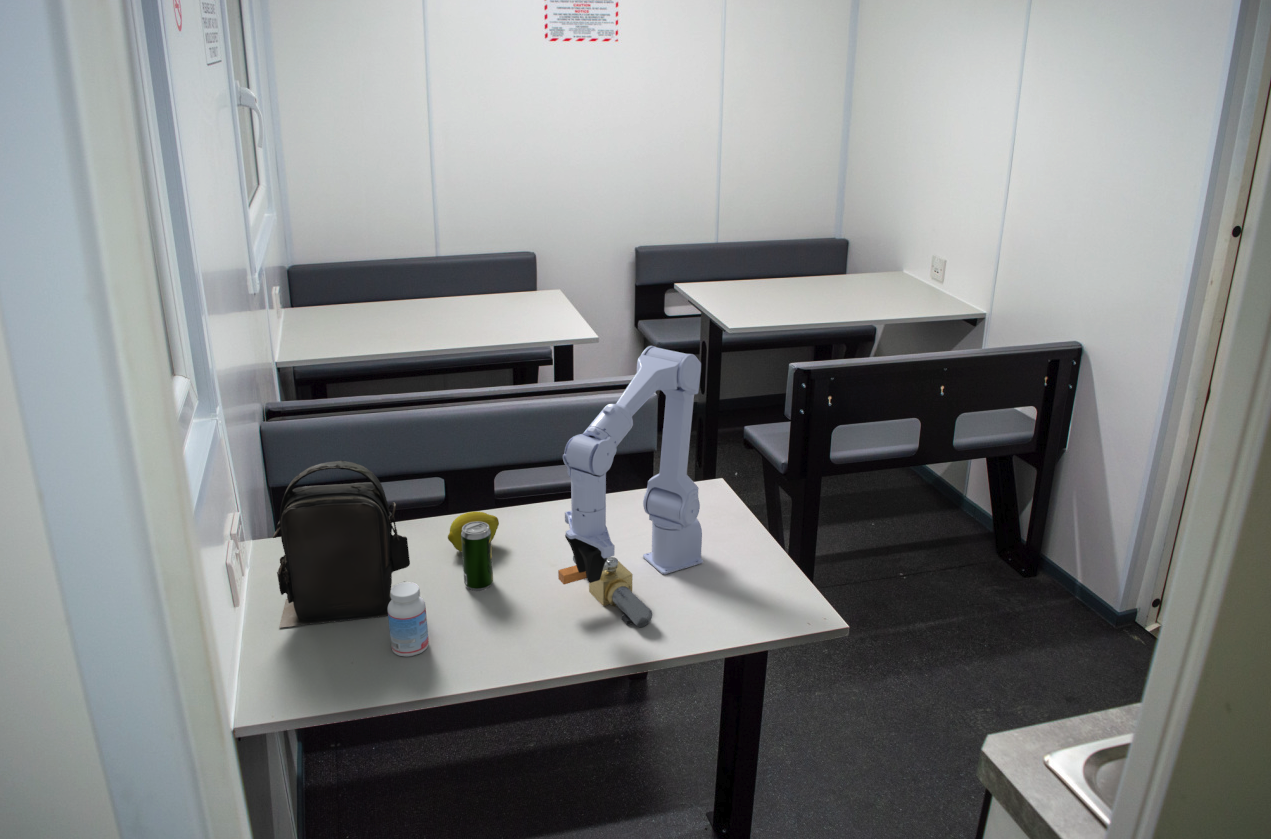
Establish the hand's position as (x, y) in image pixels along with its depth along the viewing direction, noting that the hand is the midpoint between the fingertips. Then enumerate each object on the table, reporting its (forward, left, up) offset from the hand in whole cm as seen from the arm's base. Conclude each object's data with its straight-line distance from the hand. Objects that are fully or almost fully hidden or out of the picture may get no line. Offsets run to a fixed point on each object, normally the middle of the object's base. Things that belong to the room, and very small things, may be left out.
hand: (589, 575), depth 153 cm
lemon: (+8, -34, -10) cm, 36 cm away
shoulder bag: (+36, -25, -10) cm, 44 cm away
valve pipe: (-8, -6, -9) cm, 13 cm away
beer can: (+12, -21, -10) cm, 26 cm away
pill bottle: (+30, -8, -10) cm, 32 cm away
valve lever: (-3, -6, -4) cm, 8 cm away
